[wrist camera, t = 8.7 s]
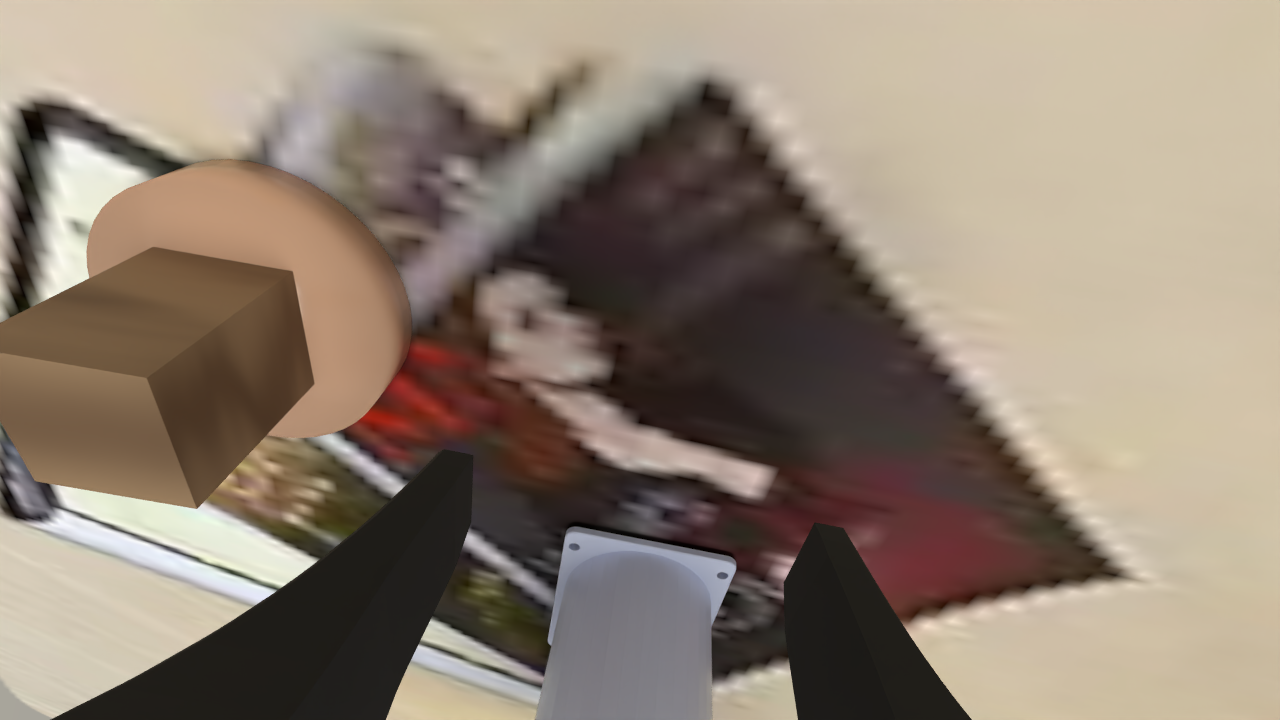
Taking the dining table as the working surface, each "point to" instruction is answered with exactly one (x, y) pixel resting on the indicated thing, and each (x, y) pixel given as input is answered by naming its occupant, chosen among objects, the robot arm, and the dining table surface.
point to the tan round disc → (284, 239)
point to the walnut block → (153, 375)
